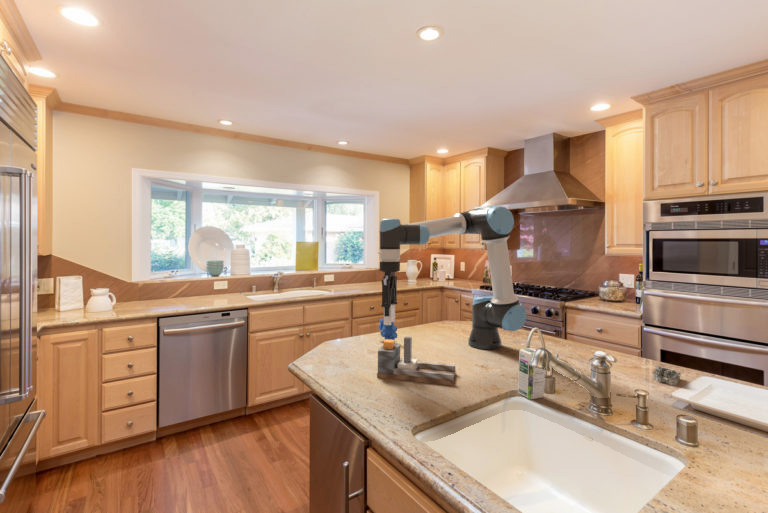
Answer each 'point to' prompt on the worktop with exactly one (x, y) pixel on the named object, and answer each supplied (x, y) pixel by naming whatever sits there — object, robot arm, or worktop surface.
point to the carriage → (407, 356)
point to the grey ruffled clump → (666, 375)
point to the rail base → (423, 373)
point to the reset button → (389, 344)
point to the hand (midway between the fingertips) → (389, 323)
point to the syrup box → (529, 376)
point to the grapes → (388, 330)
